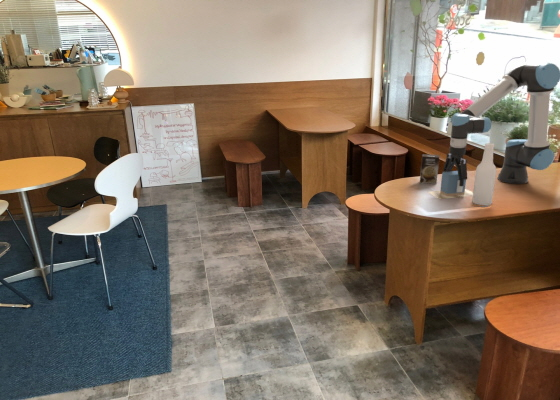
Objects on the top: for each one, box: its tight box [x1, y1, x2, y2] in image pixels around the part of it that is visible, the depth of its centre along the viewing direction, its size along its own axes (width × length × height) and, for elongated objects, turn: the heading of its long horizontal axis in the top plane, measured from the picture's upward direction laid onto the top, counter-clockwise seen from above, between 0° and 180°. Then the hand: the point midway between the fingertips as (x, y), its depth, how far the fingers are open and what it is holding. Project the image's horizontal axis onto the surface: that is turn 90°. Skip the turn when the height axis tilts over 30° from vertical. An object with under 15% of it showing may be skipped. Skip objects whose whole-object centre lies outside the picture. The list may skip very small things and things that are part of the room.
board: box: [427, 187, 473, 200], centre depth 231 cm, size 22×12×1 cm, turn 103°
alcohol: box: [471, 142, 497, 208], centre depth 214 cm, size 9×9×30 cm
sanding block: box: [439, 170, 467, 196], centre depth 229 cm, size 10×6×11 cm, turn 103°
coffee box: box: [419, 153, 440, 184], centre depth 249 cm, size 9×6×16 cm
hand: (453, 188), depth 230 cm, fingers open, 10 cm apart
